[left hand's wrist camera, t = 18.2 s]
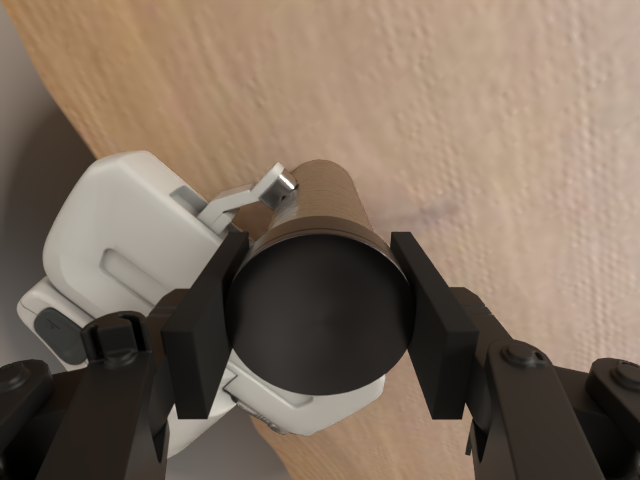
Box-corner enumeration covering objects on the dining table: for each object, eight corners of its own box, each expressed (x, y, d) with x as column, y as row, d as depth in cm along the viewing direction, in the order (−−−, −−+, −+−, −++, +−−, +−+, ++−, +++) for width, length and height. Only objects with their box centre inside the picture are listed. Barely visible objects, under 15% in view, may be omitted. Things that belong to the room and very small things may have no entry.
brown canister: (304, 238, 26) (287, 388, 12) (272, 179, 25) (211, 275, 11) (365, 210, 25) (420, 337, 12) (336, 147, 24) (360, 206, 10)
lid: (431, 245, 11) (449, 268, 10) (367, 377, 13) (374, 413, 12) (259, 191, 11) (249, 206, 9) (219, 339, 13) (206, 371, 11)
